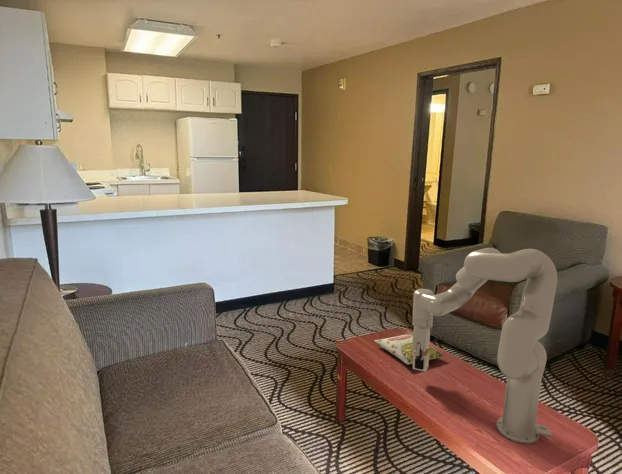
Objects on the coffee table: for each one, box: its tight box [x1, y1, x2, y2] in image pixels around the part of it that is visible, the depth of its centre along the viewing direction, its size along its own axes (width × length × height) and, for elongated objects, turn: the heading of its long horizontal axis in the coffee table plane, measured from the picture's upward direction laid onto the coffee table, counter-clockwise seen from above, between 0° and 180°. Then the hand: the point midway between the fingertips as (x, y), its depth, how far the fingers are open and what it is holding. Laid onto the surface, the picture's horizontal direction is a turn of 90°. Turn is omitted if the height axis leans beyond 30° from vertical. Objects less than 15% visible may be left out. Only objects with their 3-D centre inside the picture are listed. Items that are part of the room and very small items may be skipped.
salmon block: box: [412, 349, 430, 373], centre depth 164 cm, size 5×5×7 cm
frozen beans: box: [373, 333, 445, 365], centre depth 189 cm, size 21×6×25 cm
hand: (420, 365), depth 165 cm, fingers closed on salmon block, 5 cm apart
